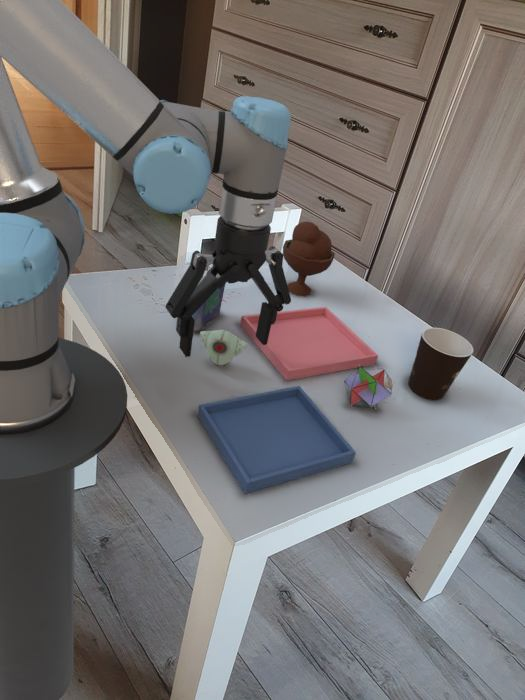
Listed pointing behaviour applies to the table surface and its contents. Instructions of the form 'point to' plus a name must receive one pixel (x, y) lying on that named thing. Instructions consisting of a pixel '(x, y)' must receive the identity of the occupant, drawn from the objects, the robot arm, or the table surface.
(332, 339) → the rose tray
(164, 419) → the table surface
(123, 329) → the table surface
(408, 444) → the table surface
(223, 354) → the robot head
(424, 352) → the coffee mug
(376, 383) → the wire icosahedron model
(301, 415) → the blue tray
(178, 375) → the table surface
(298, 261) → the ice cream bowl
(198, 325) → the flask
